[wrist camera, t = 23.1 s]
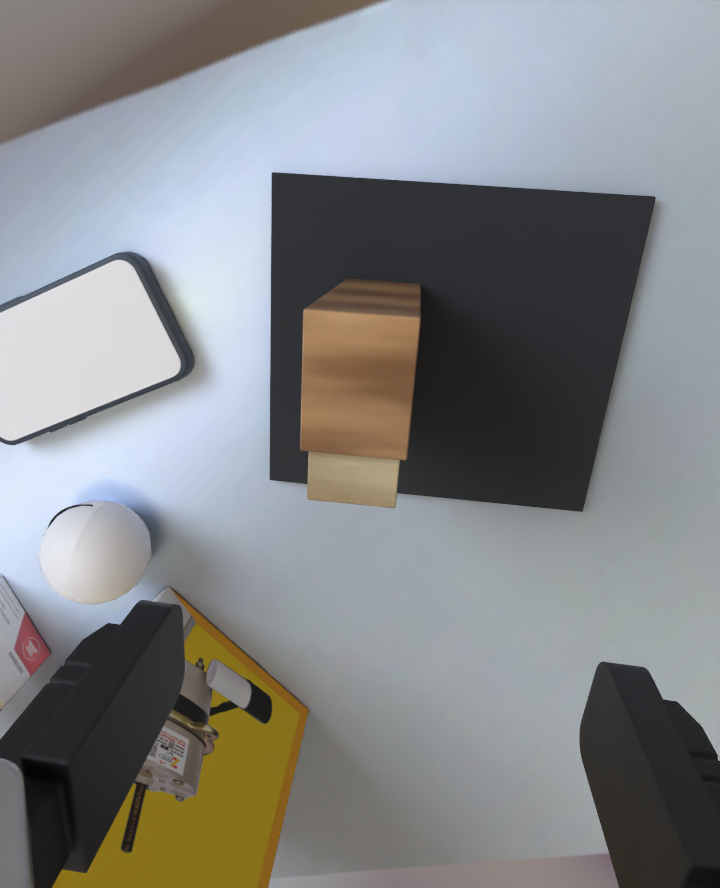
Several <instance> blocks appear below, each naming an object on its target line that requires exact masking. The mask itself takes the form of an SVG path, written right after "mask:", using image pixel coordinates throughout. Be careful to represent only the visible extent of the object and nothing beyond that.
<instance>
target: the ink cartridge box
mask: <svg viewBox="0 0 720 888" xmlns="http://www.w3.org/2000/svg"><path fill="white" fill-rule="evenodd" d="M50 653H51V652H50V651H49V649H48V648H47V646H46V645H45V643H44V642H43V640H42V638H41V637H40V635H39V634H38V632H37V630H36V629H35V627H34V626H33V624H32V622H31V621H30V619H29V617H28V616H27V614H26V613H25V611H24V609H23V608H22V606H21V605H20V603H19V602H18V600H17V598H16V597H15V595H14V593H13V592H12V590H11V589H10V587H9V585H8V584H7V582H6V581H5V579H4V578H3V576H1V575H0V711H1V710H2V709H3V707H4V706H5V705H6V704H7V703H8V702H9V701H10V700H11V698H12V697H13V696H14V695H15V694H16V693H17V692H18V691H19V689H20V688H21V687H22V686H23V685H24V684H25V683H26V681H27V680H28V679H29V678H30V677H31V676H32V675H33V673H34V672H35V671H36V670H37V669H38V668H39V667H40V665H41V664H42V663H43V662H44V661H45V660H46V659H47V657H48V656H49V655H50Z"/></svg>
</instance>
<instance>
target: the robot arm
mask: <svg viewBox="0 0 720 888" xmlns="http://www.w3.org/2000/svg"><path fill="white" fill-rule="evenodd" d="M184 675H185V650H184V630H183V613H182V608H181V606H180V605H178V604H170V603H162V602H155V601H147V600H141V601H139V602H138V603H137V604H136V605H135V606H134V607H133V609H132V610H131V611H130V613H129V614H128V615H127V617H126V618H125V619H124V621H123V622H122V623H121V624H120V625H118V624H111V623H108V624H106V625H105V626H103V627H101V628H100V629H98V630H97V631H95V632H94V633H92V634H91V635H89V636H88V637H86V638H85V639H83V640H82V641H81V643H80V644H79V645H78V646H77V647H76V649H75V650H74V651H73V652H72V653H71V655H70V656H69V657H68V658H67V660H66V661H65V664H64V666H61V667H60V668H59V669H58V670H57V672H56V673H55V674H54V675H53V676H52V678H51V679H50V683H49V684H46V685H45V686H44V687H43V689H42V690H41V691H40V692H39V693H38V695H37V696H36V697H35V698H34V699H33V701H32V702H31V703H30V704H29V705H28V707H27V708H26V709H25V710H24V712H23V713H22V714H21V715H20V716H19V718H18V719H17V720H16V721H15V722H14V724H13V725H12V726H11V727H10V728H9V730H8V731H7V732H6V733H5V734H4V736H3V737H2V738H1V739H0V888H52V887H53V885H54V883H55V881H56V879H57V878H58V876H59V874H60V872H61V871H62V869H63V870H69V871H75V872H81V873H87V871H88V869H89V867H90V866H91V864H92V862H93V860H94V858H95V856H96V854H97V852H98V850H99V848H100V846H101V844H102V843H103V841H104V839H105V837H106V835H107V833H108V831H109V829H110V827H111V825H112V823H113V822H114V820H115V818H116V816H117V814H118V812H119V810H120V808H121V806H122V804H123V802H124V801H125V799H126V797H127V795H128V793H129V791H130V789H131V787H132V785H133V783H134V781H135V780H136V778H137V776H138V774H139V772H140V770H141V768H142V766H143V764H144V762H145V760H146V759H147V757H148V755H149V753H150V751H151V749H152V747H153V745H154V743H155V741H156V739H157V738H158V736H159V734H160V732H161V730H162V728H163V726H164V724H165V722H166V720H167V718H168V717H169V715H170V713H171V711H172V709H173V707H174V705H175V703H176V701H177V699H178V697H179V694H180V692H181V688H182V685H183V681H184ZM580 751H581V757H582V761H583V765H584V768H585V772H586V775H587V779H588V782H589V785H590V789H591V792H592V796H593V799H594V802H595V806H596V809H597V813H598V816H599V820H600V823H601V826H602V830H603V833H604V837H605V840H606V844H607V847H608V850H609V854H610V857H611V860H612V864H613V867H614V871H615V874H616V878H617V881H618V885H619V888H720V761H718V758H717V756H718V755H717V753H716V751H715V750H714V748H713V746H712V744H711V742H710V741H709V739H708V737H707V735H706V733H705V731H704V730H703V728H702V727H701V725H700V724H699V723H698V722H697V721H696V720H695V719H694V718H693V717H692V716H691V715H690V714H689V713H688V712H687V711H686V710H685V709H684V708H683V707H682V706H681V705H680V704H679V703H678V702H676V701H669V700H663V698H662V696H661V694H660V692H659V690H658V688H657V686H656V684H655V682H654V680H653V678H652V676H651V675H650V673H649V671H648V670H647V669H646V668H644V667H638V666H631V665H623V664H616V663H608V662H601V663H600V664H599V665H598V667H597V669H596V672H595V675H594V679H593V682H592V686H591V689H590V693H589V696H588V700H587V703H586V707H585V710H584V714H583V717H582V721H581V726H580Z"/></svg>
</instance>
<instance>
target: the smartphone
mask: <svg viewBox="0 0 720 888" xmlns="http://www.w3.org/2000/svg"><path fill="white" fill-rule="evenodd" d="M193 364H194V359H193V355H192V352H191V350H190V348H189V346H188V344H187V342H186V340H185V338H184V336H183V334H182V332H181V330H180V328H179V326H178V324H177V322H176V320H175V318H174V316H173V314H172V312H171V310H170V308H169V306H168V304H167V302H166V300H165V298H164V296H163V293H162V291H161V289H160V287H159V285H158V283H157V281H156V279H155V277H154V275H153V273H152V271H151V269H150V267H149V265H148V264H147V262H146V261H145V260H144V259H143V258H142V257H141V256H139V255H138V254H135V253H132V252H122V253H117V254H114V255H112V256H110V257H107V258H105V259H103V260H101V261H99V262H97V263H94V264H92V265H90V266H88V267H86V268H84V269H81V270H79V271H77V272H75V273H73V274H71V275H68V276H66V277H64V278H62V279H60V280H58V281H55V282H53V283H51V284H49V285H47V286H44V287H42V288H40V289H38V290H36V291H34V292H31V293H29V294H27V295H25V296H21V297H17V298H15V299H13V300H11V301H9V302H6V303H4V304H2V305H0V441H1V442H2V443H5V444H8V445H16V444H19V443H22V442H24V441H27V440H29V439H32V438H35V437H37V436H40V435H42V434H45V433H47V432H53V431H56V430H58V429H61V428H63V427H66V426H67V425H68V424H69V425H71V424H73V423H76V422H78V421H81V420H83V419H85V418H87V416H90V415H92V414H95V413H97V412H100V411H102V410H105V409H107V408H110V407H112V406H115V405H118V404H120V403H123V402H125V401H128V400H130V399H133V398H135V397H138V396H140V395H143V394H145V393H148V392H150V391H153V390H155V389H158V388H160V387H163V386H165V385H168V384H170V383H173V382H175V381H178V380H180V379H182V378H184V377H185V376H187V375H188V374H189V373H190V371H191V370H192V368H193Z"/></svg>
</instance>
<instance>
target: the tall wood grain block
mask: <svg viewBox="0 0 720 888" xmlns="http://www.w3.org/2000/svg"><path fill="white" fill-rule="evenodd" d="M420 323H421V284H418V283H404V282H390V281H376V280H362V279H346V280H344V281H343V282H342V283H340V284H339V285H337V286H336V287H335V288H333V289H332V290H330V291H329V292H328V293H326V294H325V295H323V296H322V297H321V298H319V299H318V300H316V301H315V302H314V303H312V304H311V305H309V306H308V307H307V308H305V309H304V311H303V347H302V390H301V432H300V450H301V451H309V452H308V486H307V499H310V500H319V501H329V502H339V503H349V504H359V505H369V506H379V507H389V508H395V507H396V496H397V486H398V475H399V464H400V460H407V455H408V445H409V435H410V425H411V415H412V404H413V394H414V384H415V374H416V364H417V354H418V343H419V333H420Z"/></svg>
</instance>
